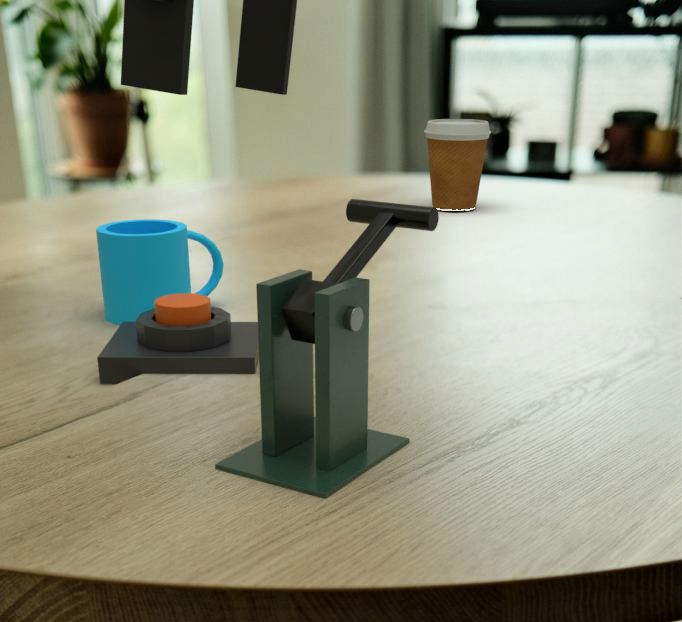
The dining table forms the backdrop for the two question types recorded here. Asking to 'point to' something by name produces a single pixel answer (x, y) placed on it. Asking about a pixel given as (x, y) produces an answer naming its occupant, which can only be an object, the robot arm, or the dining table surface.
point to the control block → (179, 348)
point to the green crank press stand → (298, 393)
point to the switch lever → (354, 256)
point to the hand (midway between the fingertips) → (214, 91)
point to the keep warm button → (182, 309)
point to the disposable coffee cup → (456, 161)
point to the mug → (147, 265)
